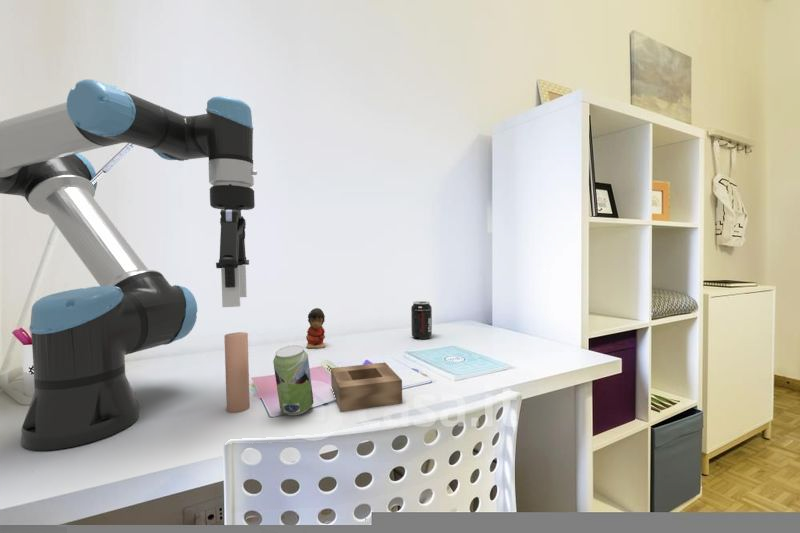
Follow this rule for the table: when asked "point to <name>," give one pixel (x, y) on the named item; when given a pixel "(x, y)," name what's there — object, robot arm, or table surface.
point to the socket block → (365, 386)
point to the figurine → (315, 329)
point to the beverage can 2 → (421, 320)
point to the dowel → (237, 372)
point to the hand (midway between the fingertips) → (235, 301)
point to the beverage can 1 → (293, 380)
